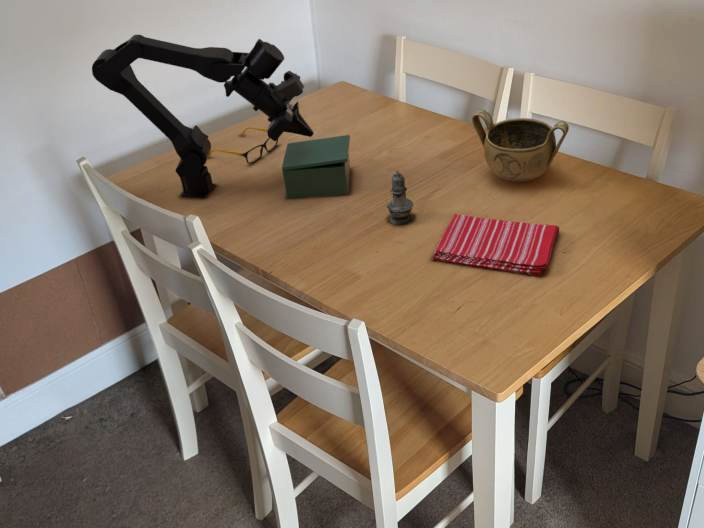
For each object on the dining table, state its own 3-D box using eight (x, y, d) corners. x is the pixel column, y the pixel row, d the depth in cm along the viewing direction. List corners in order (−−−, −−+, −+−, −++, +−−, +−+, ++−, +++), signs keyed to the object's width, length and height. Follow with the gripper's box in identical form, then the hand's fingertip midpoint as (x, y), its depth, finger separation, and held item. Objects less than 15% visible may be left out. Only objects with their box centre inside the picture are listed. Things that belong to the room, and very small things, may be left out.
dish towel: (545, 278, 157) (545, 266, 156) (430, 261, 165) (430, 250, 163) (561, 232, 169) (562, 221, 168) (454, 219, 177) (454, 208, 175)
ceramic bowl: (461, 184, 189) (460, 125, 180) (487, 152, 200) (487, 95, 191) (552, 200, 180) (556, 139, 171) (574, 166, 192) (579, 107, 182)
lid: (350, 137, 194) (349, 134, 193) (347, 161, 184) (346, 158, 184) (288, 146, 196) (287, 143, 195) (282, 170, 186) (281, 167, 185)
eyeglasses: (249, 168, 204) (246, 153, 202) (207, 157, 211) (203, 143, 208) (283, 144, 213) (280, 130, 211) (241, 135, 220) (238, 121, 217)
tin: (350, 169, 199) (347, 142, 195) (348, 194, 189) (344, 167, 185) (292, 173, 200) (288, 146, 196) (287, 198, 190) (282, 171, 186)
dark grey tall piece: (395, 228, 176) (391, 179, 169) (383, 216, 180) (378, 169, 173) (418, 220, 178) (416, 171, 170) (406, 209, 182) (402, 161, 175)
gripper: (273, 82, 169) (331, 127, 176) (283, 51, 184) (336, 93, 190) (243, 119, 175) (300, 162, 181) (255, 86, 189) (308, 126, 195)
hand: (312, 134), depth 187 cm, fingers closed
